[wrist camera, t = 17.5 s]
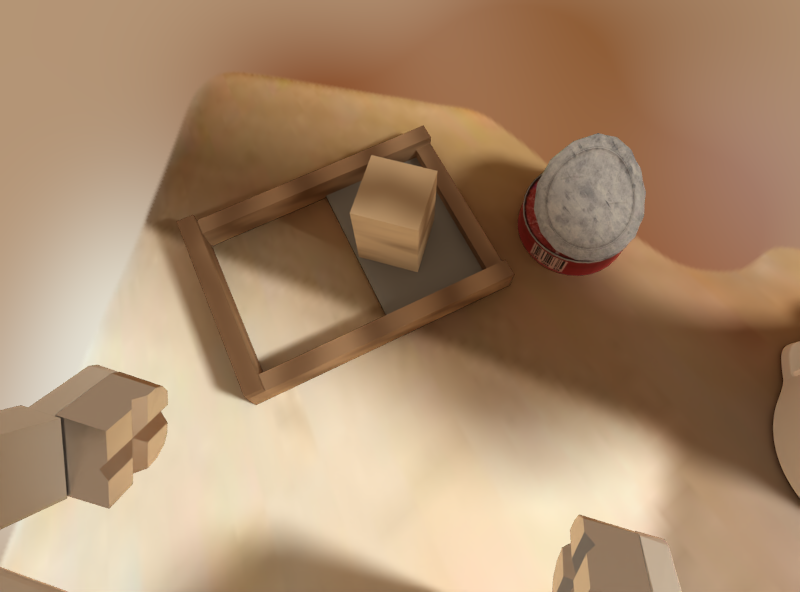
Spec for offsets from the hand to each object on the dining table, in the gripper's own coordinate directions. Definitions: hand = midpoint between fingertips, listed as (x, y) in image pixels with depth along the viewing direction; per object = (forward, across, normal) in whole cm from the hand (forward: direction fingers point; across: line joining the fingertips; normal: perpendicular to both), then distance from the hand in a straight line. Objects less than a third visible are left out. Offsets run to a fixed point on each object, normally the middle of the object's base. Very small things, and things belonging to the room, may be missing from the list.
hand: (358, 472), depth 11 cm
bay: (+38, +10, +12) cm, 41 cm away
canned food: (+45, -8, +6) cm, 46 cm away
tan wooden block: (+40, +7, +10) cm, 42 cm away
